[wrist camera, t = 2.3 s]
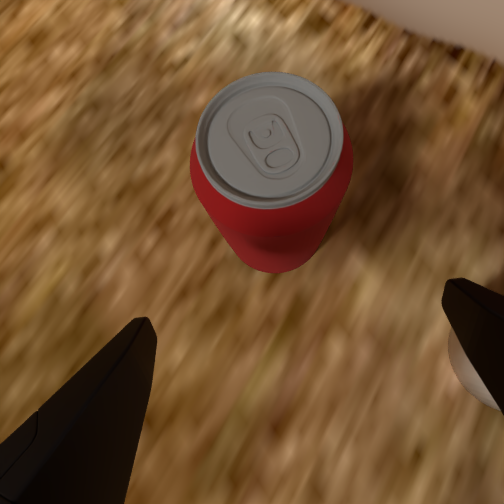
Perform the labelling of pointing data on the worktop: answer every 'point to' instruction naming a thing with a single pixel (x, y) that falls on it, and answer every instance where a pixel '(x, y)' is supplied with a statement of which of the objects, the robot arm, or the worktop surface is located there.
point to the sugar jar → (468, 372)
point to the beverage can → (271, 167)
